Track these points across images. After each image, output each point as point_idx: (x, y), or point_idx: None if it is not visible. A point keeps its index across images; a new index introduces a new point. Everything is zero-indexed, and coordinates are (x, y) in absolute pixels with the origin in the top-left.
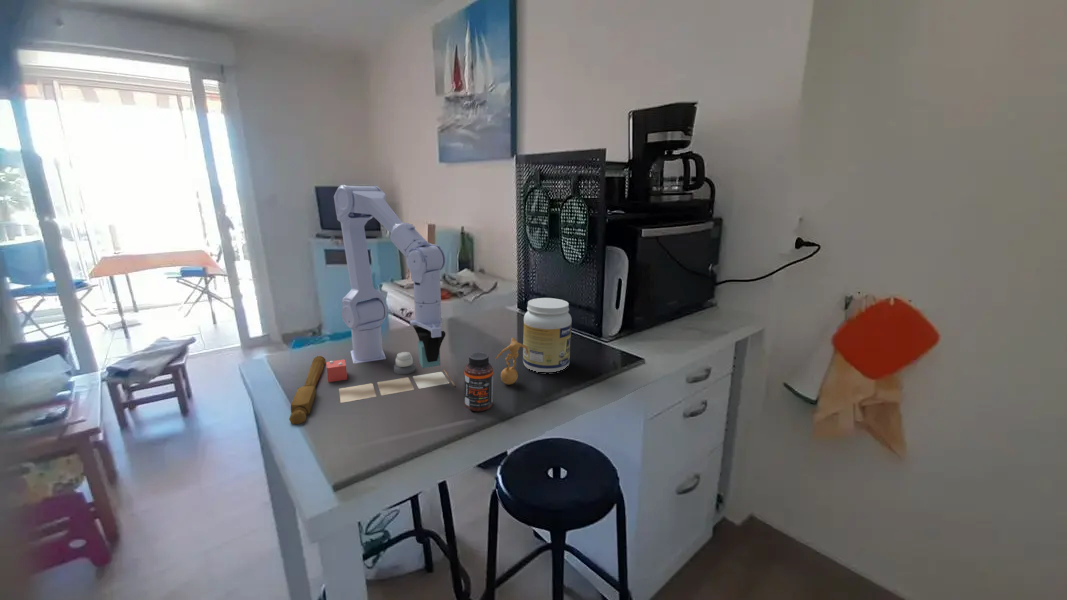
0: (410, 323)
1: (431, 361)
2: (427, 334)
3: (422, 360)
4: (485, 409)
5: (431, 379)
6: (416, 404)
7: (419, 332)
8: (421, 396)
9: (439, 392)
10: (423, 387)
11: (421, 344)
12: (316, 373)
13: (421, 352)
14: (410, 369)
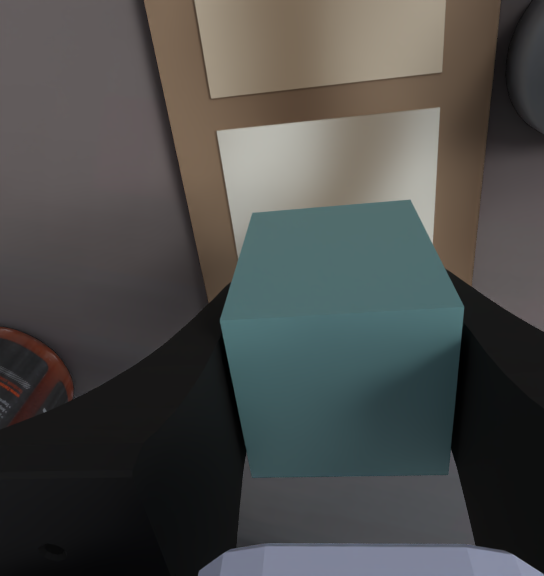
0: (352, 569)
1: None
2: (9, 561)
3: (245, 244)
4: None
5: None
6: (42, 90)
7: (134, 489)
8: (145, 133)
9: (178, 240)
10: (229, 163)
11: (330, 331)
12: None
13: (255, 279)
14: (526, 104)
